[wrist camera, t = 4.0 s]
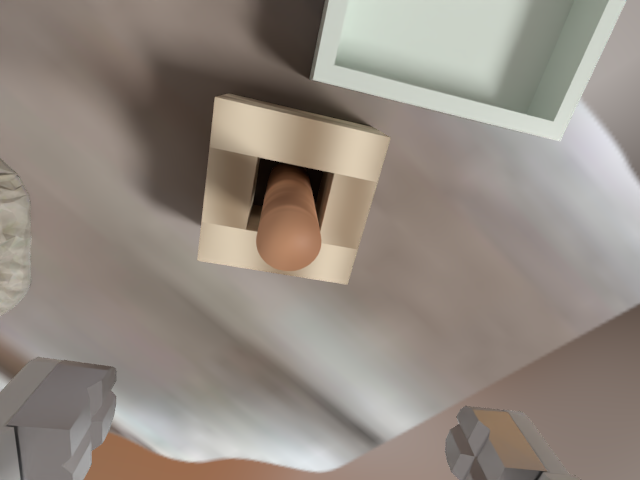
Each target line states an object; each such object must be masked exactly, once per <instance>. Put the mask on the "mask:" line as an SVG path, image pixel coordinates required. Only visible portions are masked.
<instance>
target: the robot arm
mask: <svg viewBox="0 0 640 480" xmlns="http://www.w3.org/2000/svg"><path fill="white" fill-rule="evenodd" d="M115 382H116V368H114V367H111V366H104V365H97V364H89V363H82V362H75V361H67V360H56V359H49V358H42V357H37V358H35V359H33V360H31V361H29V362H28V363H27V364H26V365H25V366H24V367H23V368H22V370H21V371H20V372H19V373H18V374H17V375H16V376H15V377H14V378H13V379H12V380H11V381H10V382H9V383H8V384H7V385H6V386H5V388H4V389H3V390H2V391H1V392H0V480H83V479H84V477H85V475H86V474H87V472H88V470H89V468H90V466H91V464H92V463H91V451H92V450H94V449H95V448H97V447H98V446H99V445H101V444H102V443H103V441H104V439H105V437H106V435H107V433H108V431H109V429H110V426H111V423H112V420H113V417H114V413H115V407H116V395H115V394H114V393H113V392H112V391H111V389H112V387H113V386H114V384H115ZM457 419H458V422H459V424H458V425H457V426H455V427H454V428H452V429H451V430H450V432H449V434H448V436H447V438H446V448H445V450H446V451H445V453H446V457H447V462H448V465H449V467H450V470H451V472H452V473H453V474H454V475H455V476H456V477H457V478H458V479H459V480H581V479H580V478H579V477H577V476H576V475H571V474H569V473H568V472H567V470H566V469H565V468H564V466H563V465H562V463H561V462H560V460H559V459H558V458H557V456H556V455H555V453H554V452H553V451H552V449H551V448H550V446H549V445H548V444H547V442H546V441H545V439H544V438H543V437H542V436H541V434H540V433H539V431H538V430H537V428H536V427H535V426H534V424H533V423H532V422H531V420H530V419H529V417H528V416H527V415H525V414H524V413H523V412H519V411H510V410H499V409H490V408H480V407H470V406H465V407H463V408H462V409H461V410H460V412H459V413H458V415H457Z"/></svg>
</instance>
